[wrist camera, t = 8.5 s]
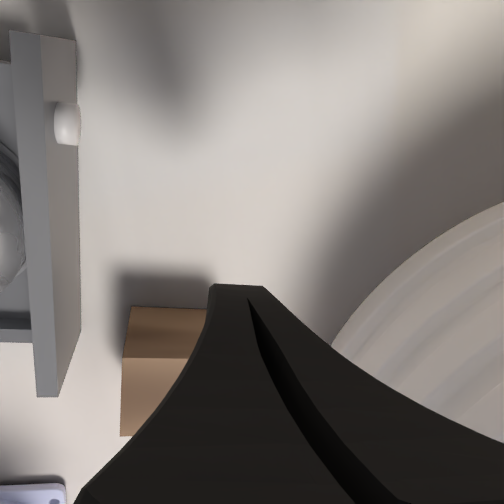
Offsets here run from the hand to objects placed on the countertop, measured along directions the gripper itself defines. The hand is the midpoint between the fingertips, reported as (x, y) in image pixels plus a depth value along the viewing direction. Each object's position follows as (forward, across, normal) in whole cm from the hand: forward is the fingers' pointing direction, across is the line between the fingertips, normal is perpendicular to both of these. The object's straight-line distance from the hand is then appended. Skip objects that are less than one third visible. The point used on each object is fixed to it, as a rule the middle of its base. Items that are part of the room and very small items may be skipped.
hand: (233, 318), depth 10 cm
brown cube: (+8, +1, +7) cm, 10 cm away
